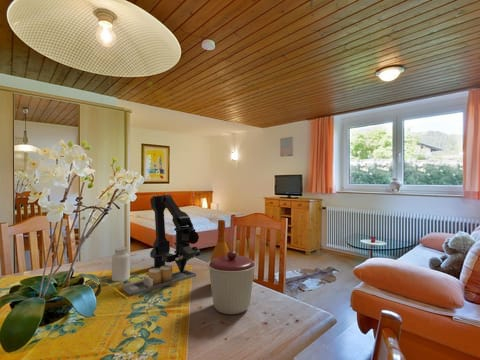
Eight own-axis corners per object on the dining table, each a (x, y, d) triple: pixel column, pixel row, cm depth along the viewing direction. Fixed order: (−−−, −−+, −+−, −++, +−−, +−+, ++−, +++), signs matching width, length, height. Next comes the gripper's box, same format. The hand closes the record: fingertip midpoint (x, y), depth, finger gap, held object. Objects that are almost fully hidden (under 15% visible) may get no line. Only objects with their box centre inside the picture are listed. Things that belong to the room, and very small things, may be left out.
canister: (263, 316, 91) (263, 255, 92) (212, 324, 86) (212, 259, 87) (247, 295, 109) (247, 244, 109) (203, 300, 104) (204, 247, 104)
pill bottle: (107, 281, 124) (108, 249, 124) (121, 275, 131) (121, 245, 132) (120, 283, 121) (120, 251, 121) (133, 277, 128) (133, 247, 129)
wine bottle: (236, 286, 118) (236, 219, 119) (220, 292, 111) (220, 222, 112) (221, 280, 125) (222, 217, 125) (205, 286, 118) (206, 219, 118)
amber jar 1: (146, 284, 118) (146, 269, 119) (157, 281, 123) (157, 267, 123) (152, 287, 115) (152, 272, 115) (163, 284, 119) (163, 269, 119)
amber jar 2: (157, 281, 123) (157, 267, 123) (168, 278, 127) (168, 264, 127) (163, 284, 119) (163, 269, 119) (174, 281, 123) (174, 266, 123)
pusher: (121, 290, 111) (121, 281, 111) (145, 283, 119) (145, 275, 119) (127, 295, 106) (127, 286, 106) (152, 287, 114) (153, 279, 114)
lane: (122, 290, 113) (122, 283, 113) (185, 273, 136) (185, 267, 136) (131, 297, 106) (131, 290, 106) (196, 277, 129) (196, 271, 129)
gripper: (173, 246, 117) (173, 281, 116) (207, 240, 130) (206, 271, 130) (161, 242, 124) (161, 275, 124) (193, 237, 138) (193, 266, 137)
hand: (181, 272), depth 129 cm, fingers closed
